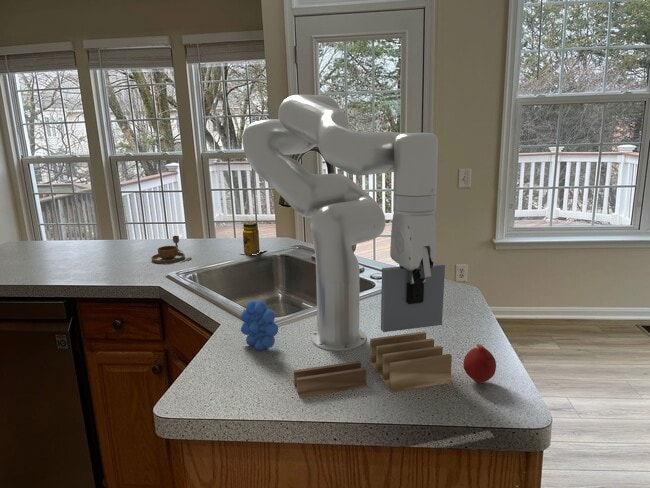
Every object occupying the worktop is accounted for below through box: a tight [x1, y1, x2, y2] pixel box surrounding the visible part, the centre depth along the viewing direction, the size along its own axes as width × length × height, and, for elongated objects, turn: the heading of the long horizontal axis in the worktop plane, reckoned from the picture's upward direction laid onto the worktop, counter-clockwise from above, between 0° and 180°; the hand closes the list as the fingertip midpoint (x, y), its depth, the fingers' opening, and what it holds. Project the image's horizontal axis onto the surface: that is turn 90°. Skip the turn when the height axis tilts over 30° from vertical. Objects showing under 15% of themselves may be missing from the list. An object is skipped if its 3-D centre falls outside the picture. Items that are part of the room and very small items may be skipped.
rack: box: [368, 331, 453, 393], centre depth 90 cm, size 12×12×6 cm
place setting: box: [150, 235, 192, 264], centre depth 177 cm, size 18×20×6 cm
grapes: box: [240, 300, 279, 351], centre depth 101 cm, size 12×7×12 cm, turn 47°
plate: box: [380, 262, 446, 333], centre depth 87 cm, size 1×12×12 cm, turn 105°
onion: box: [462, 343, 497, 384], centre depth 87 cm, size 6×6×8 cm
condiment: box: [242, 221, 261, 256], centre depth 180 cm, size 7×8×12 cm
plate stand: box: [292, 360, 369, 399], centre depth 87 cm, size 6×13×4 cm, turn 105°
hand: (412, 300), depth 87 cm, fingers closed on plate, 1 cm apart
